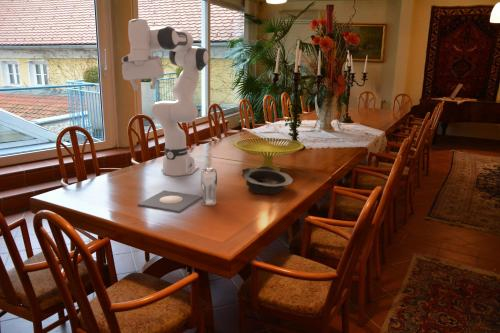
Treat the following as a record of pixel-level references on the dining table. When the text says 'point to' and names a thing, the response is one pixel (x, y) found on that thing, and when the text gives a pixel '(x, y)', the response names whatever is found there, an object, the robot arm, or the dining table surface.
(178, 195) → the place mat
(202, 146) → the dining table surface
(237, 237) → the dining table surface
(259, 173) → the stone bowl
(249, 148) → the cake stand
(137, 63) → the robot arm
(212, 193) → the beer glass
